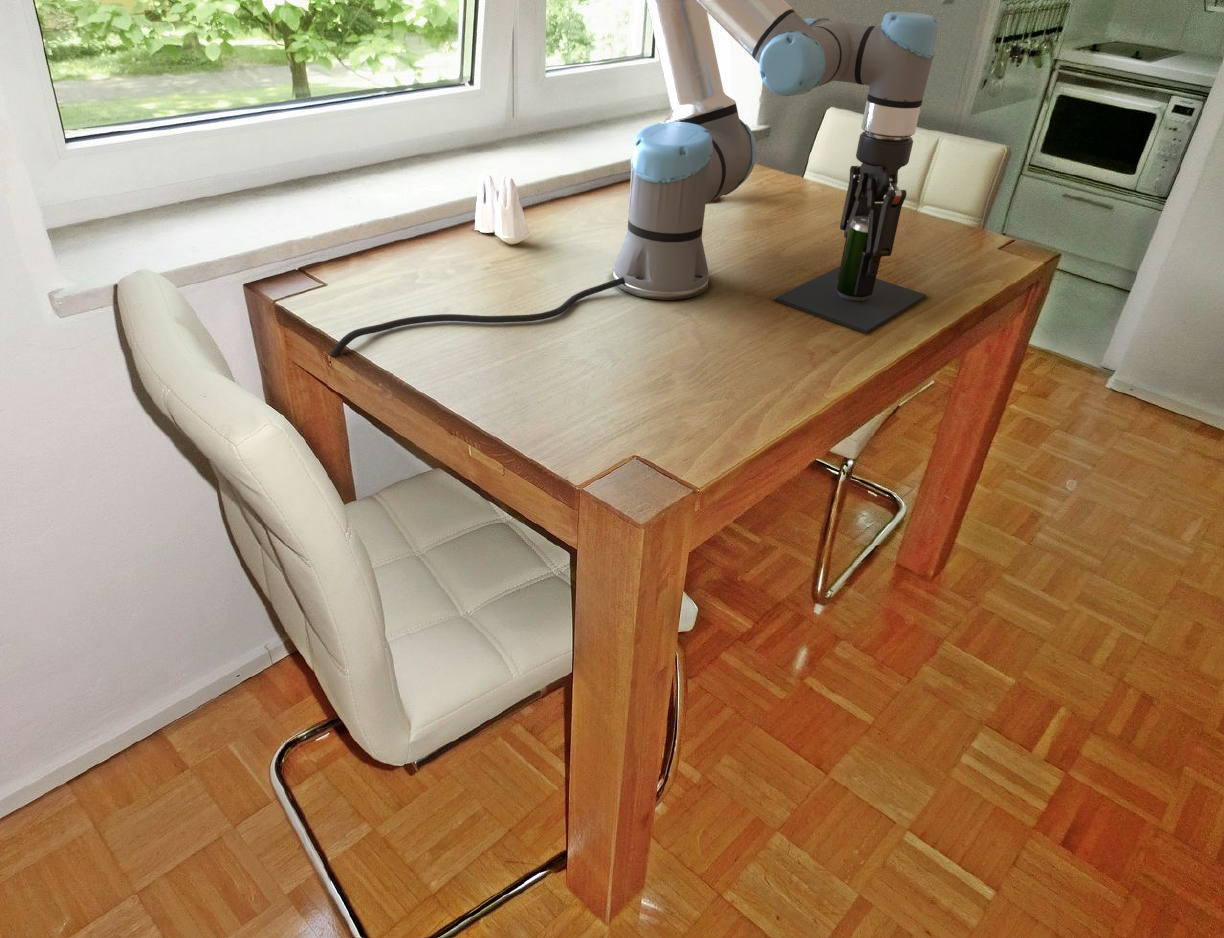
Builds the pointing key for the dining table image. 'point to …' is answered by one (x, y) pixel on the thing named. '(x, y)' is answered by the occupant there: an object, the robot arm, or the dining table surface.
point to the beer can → (853, 258)
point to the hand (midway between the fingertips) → (854, 286)
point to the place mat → (850, 302)
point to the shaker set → (500, 211)
